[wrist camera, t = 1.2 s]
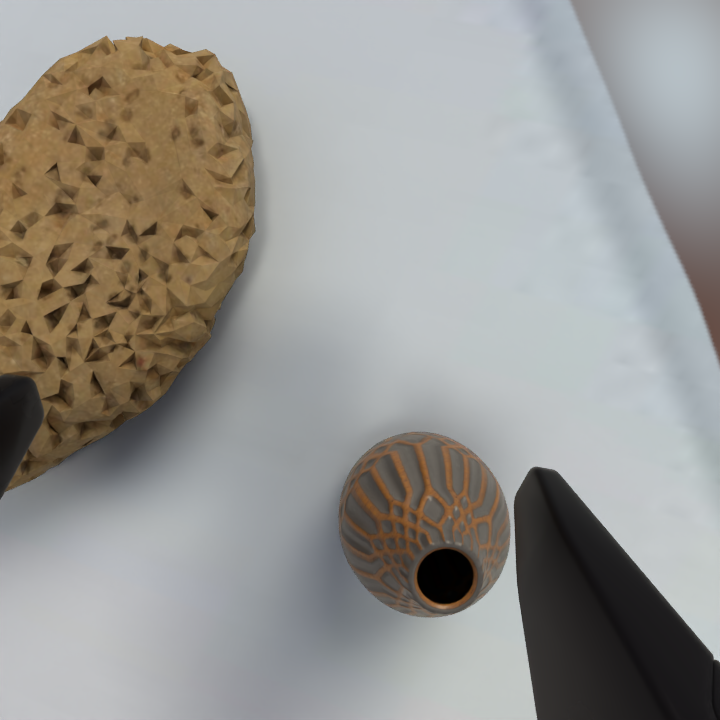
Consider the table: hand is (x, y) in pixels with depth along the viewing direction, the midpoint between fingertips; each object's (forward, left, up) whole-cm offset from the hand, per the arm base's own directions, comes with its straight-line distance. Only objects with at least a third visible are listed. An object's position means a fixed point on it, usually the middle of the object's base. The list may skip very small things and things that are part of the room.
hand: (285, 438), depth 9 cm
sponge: (+5, +10, -15) cm, 19 cm away
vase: (-6, -4, -15) cm, 17 cm away
